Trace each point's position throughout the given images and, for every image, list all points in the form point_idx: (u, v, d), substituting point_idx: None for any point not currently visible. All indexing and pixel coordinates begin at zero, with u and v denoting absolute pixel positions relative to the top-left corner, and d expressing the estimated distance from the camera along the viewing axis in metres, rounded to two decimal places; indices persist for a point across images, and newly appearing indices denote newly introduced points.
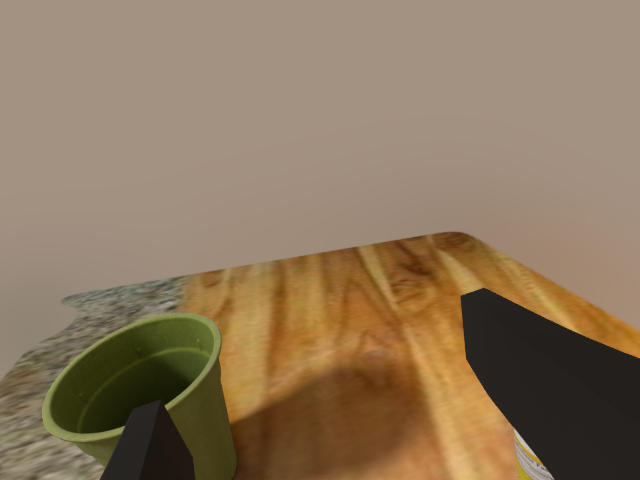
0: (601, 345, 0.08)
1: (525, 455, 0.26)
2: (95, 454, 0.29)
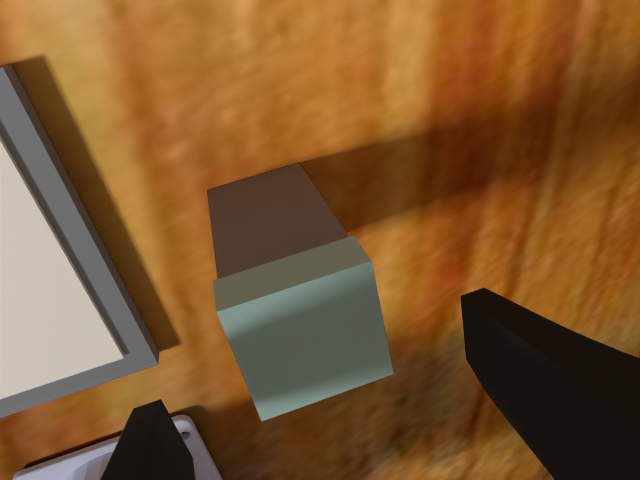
0: (601, 345, 0.08)
1: None
2: None
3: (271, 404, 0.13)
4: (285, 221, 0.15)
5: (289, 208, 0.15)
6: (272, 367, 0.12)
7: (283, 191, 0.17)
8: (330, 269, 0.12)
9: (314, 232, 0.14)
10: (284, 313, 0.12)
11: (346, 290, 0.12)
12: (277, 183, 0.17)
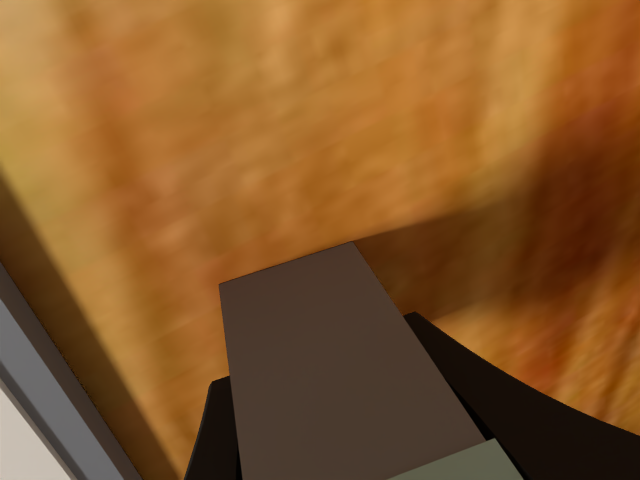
0: (511, 379, 0.08)
1: None
2: None
3: None
4: (353, 375, 0.09)
5: (354, 342, 0.10)
6: None
7: (339, 301, 0.11)
8: None
9: (413, 412, 0.08)
10: None
11: None
12: (326, 281, 0.11)
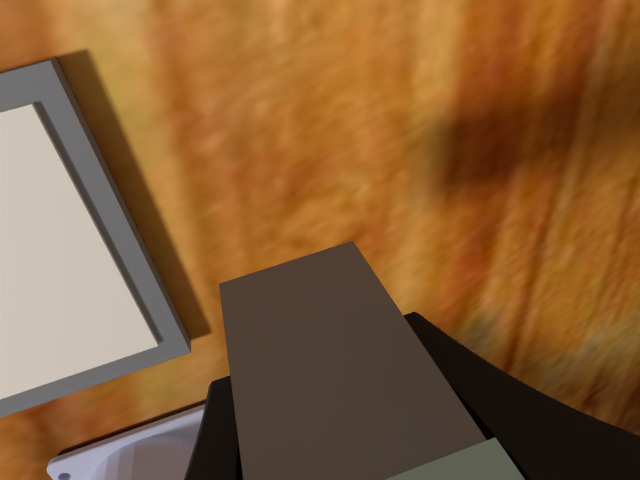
0: (510, 379, 0.08)
1: None
2: None
3: None
4: (354, 374, 0.09)
5: (354, 341, 0.10)
6: None
7: (339, 300, 0.11)
8: None
9: (414, 411, 0.08)
10: None
11: None
12: (326, 281, 0.11)
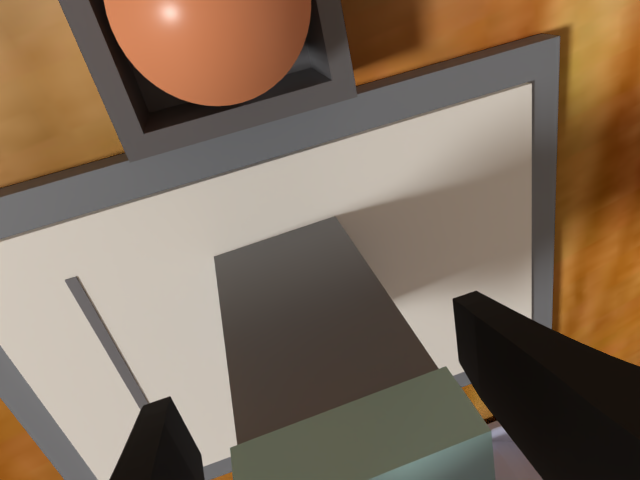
0: (590, 349, 0.08)
1: None
2: None
3: None
4: (330, 324, 0.10)
5: (332, 298, 0.11)
6: None
7: (320, 266, 0.12)
8: (421, 444, 0.07)
9: (379, 350, 0.09)
10: None
11: (449, 475, 0.07)
12: (309, 250, 0.13)
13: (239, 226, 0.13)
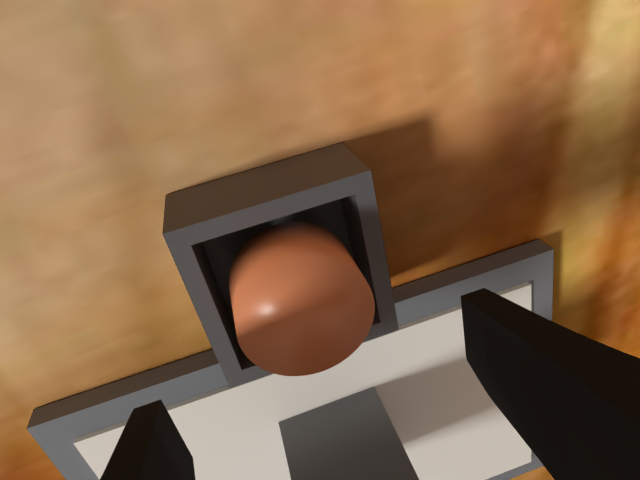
0: (601, 345, 0.08)
1: None
2: None
3: None
4: None
5: None
6: None
7: (367, 447, 0.15)
8: None
9: None
10: None
11: None
12: (357, 427, 0.16)
13: (299, 400, 0.17)
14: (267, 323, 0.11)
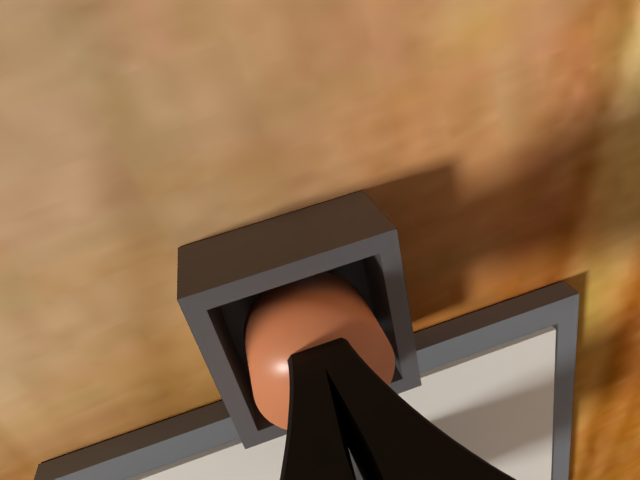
0: (413, 414, 0.08)
1: None
2: None
3: None
4: None
5: None
6: None
7: None
8: None
9: None
10: None
11: None
12: None
13: None
14: (285, 383, 0.11)
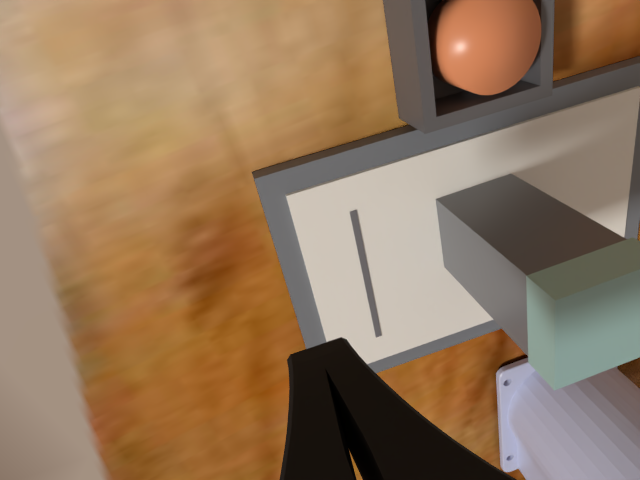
0: (414, 414, 0.08)
1: None
2: None
3: (565, 375, 0.16)
4: (548, 226, 0.17)
5: (540, 214, 0.18)
6: (576, 345, 0.15)
7: (520, 200, 0.19)
8: (635, 265, 0.15)
9: (587, 234, 0.17)
10: (599, 301, 0.15)
11: None
12: (506, 192, 0.20)
13: (454, 178, 0.21)
14: (470, 41, 0.16)
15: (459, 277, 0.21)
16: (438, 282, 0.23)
